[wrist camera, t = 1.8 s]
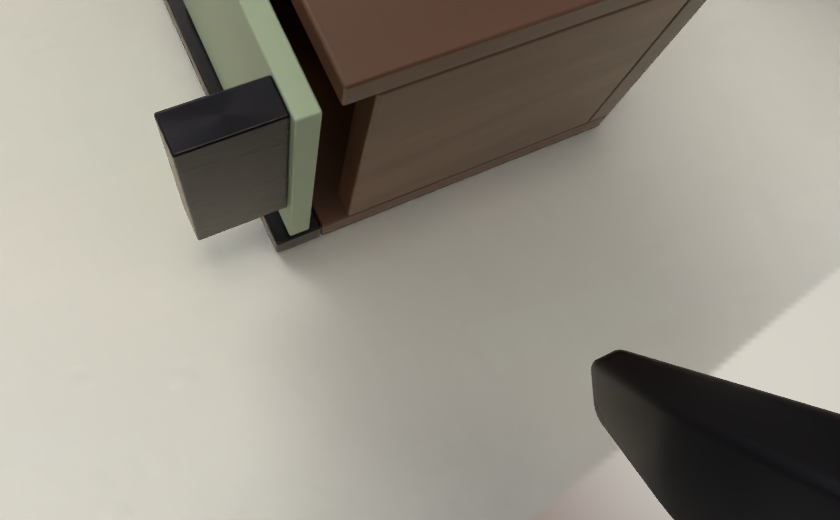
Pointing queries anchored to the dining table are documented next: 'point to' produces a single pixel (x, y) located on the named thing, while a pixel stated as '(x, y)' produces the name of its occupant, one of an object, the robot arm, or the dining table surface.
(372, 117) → the cabinet
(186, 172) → the sliding cabinet door
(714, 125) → the dining table surface
